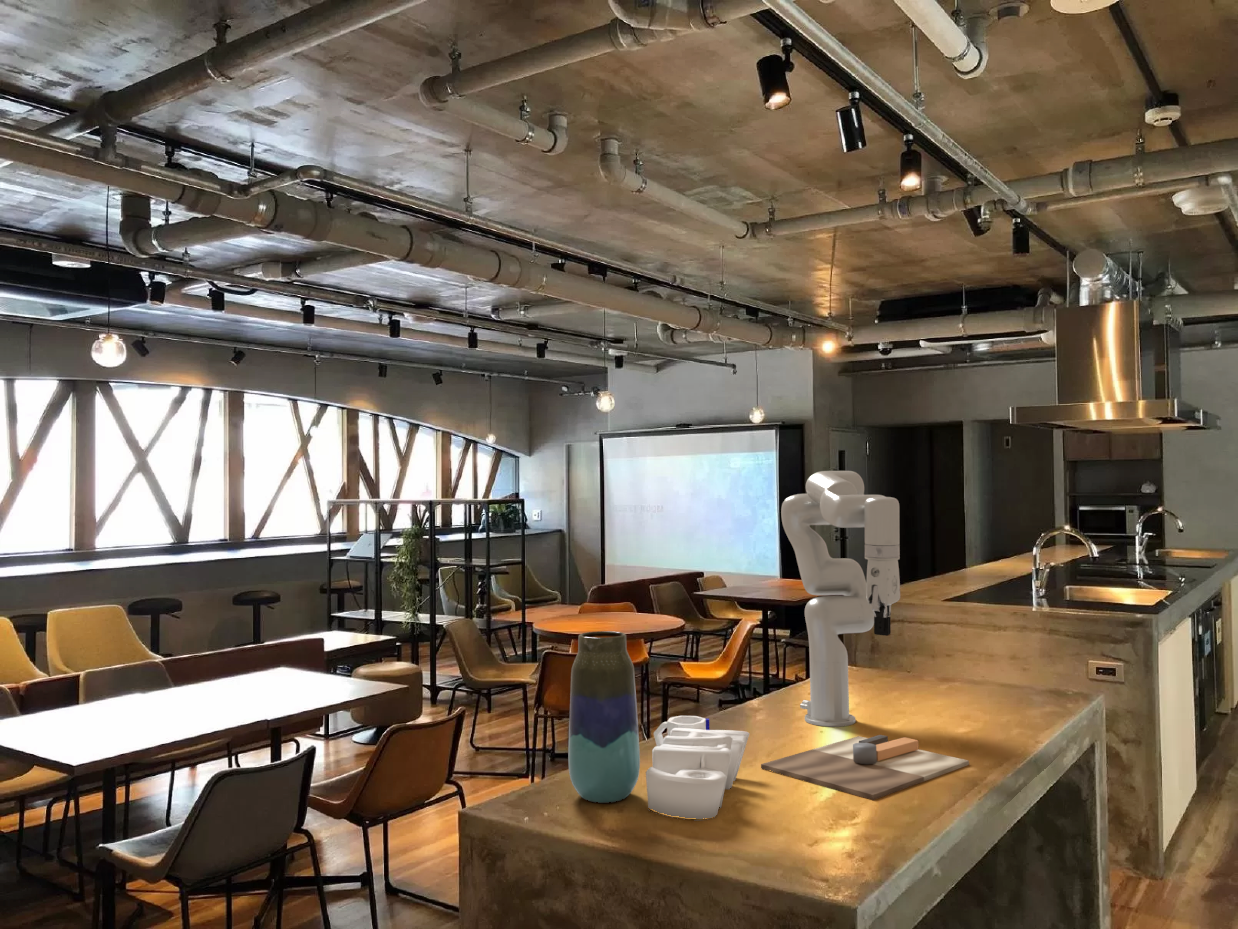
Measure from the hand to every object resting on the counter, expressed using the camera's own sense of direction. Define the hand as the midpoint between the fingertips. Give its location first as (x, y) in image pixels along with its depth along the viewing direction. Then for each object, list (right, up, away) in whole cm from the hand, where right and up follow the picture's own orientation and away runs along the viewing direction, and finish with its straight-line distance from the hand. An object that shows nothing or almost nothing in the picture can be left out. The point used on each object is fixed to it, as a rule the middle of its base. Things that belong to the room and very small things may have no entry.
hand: (882, 634), depth 211 cm
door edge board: (-7, -26, -11) cm, 29 cm away
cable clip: (-40, -28, +4) cm, 49 cm away
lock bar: (-1, -25, -7) cm, 26 cm away
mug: (-46, -27, -7) cm, 54 cm away
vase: (-62, -27, -28) cm, 73 cm away
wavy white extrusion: (-43, -26, -28) cm, 58 cm away
